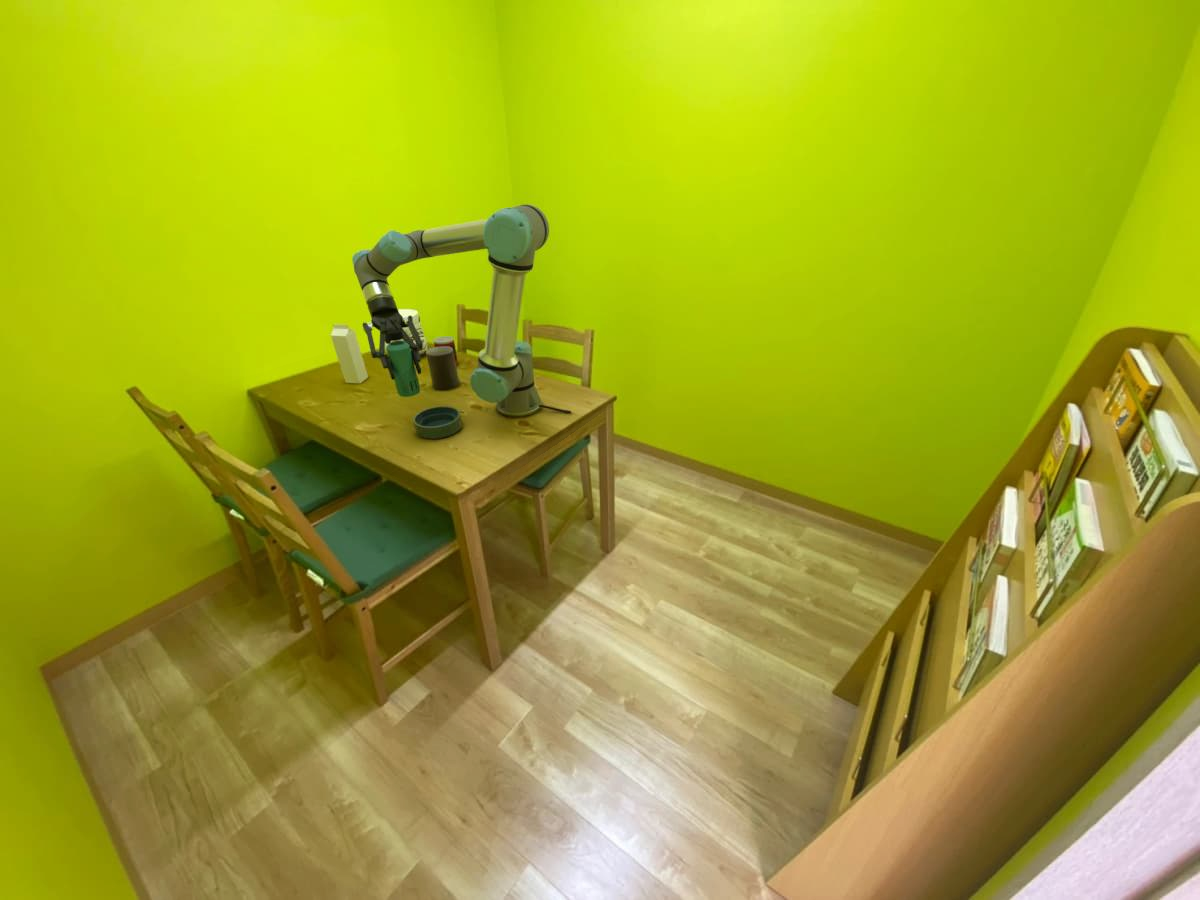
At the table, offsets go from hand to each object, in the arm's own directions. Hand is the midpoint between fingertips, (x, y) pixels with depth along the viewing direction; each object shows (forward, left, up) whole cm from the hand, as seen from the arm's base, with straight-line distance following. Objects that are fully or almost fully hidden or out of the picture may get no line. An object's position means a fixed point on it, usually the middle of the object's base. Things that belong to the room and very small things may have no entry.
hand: (406, 374), depth 134 cm
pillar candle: (+3, -42, -23) cm, 48 cm away
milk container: (+27, -74, -23) cm, 82 cm away
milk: (+39, -48, -23) cm, 66 cm away
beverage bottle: (+2, -3, -9) cm, 9 cm away
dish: (-3, -8, -22) cm, 24 cm away
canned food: (+7, -62, -23) cm, 67 cm away
